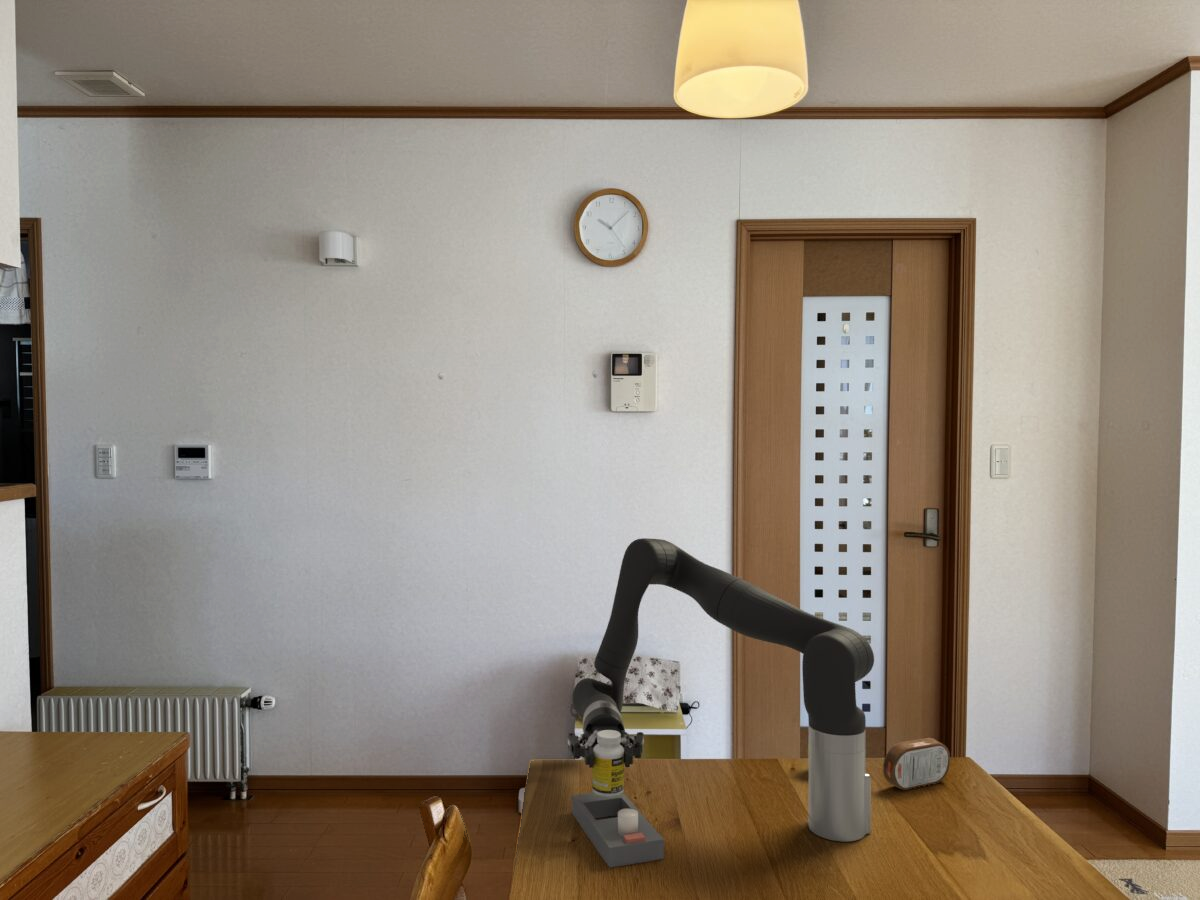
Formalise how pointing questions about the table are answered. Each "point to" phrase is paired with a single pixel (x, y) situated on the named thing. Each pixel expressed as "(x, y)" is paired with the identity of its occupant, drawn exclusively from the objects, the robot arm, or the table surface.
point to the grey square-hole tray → (617, 829)
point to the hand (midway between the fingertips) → (609, 761)
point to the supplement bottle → (608, 764)
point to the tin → (916, 763)
